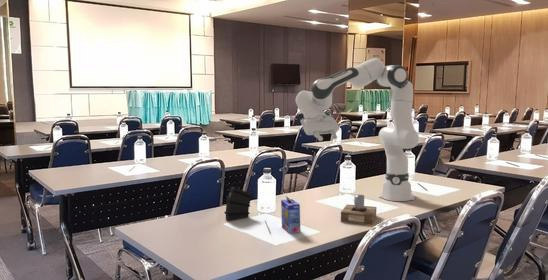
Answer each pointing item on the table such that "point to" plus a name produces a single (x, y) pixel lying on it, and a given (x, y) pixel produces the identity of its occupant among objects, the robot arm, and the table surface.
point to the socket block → (358, 215)
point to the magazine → (237, 204)
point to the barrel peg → (359, 203)
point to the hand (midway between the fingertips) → (328, 139)
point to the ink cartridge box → (290, 215)
